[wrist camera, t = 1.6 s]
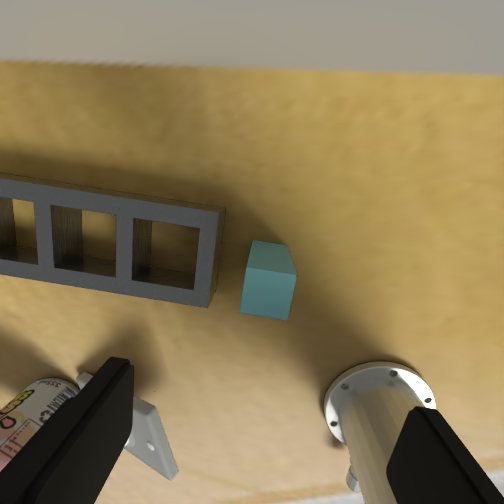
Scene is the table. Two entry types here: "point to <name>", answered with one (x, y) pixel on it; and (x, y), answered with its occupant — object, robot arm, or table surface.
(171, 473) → the light switch
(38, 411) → the beverage can
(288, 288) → the square peg
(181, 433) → the table surface
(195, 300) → the hole rail
